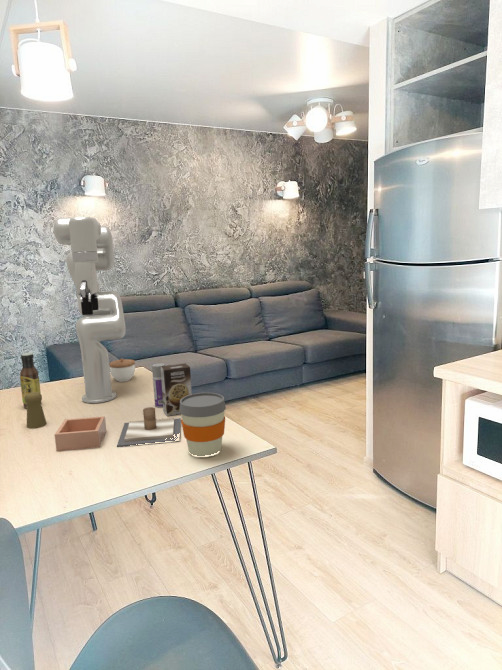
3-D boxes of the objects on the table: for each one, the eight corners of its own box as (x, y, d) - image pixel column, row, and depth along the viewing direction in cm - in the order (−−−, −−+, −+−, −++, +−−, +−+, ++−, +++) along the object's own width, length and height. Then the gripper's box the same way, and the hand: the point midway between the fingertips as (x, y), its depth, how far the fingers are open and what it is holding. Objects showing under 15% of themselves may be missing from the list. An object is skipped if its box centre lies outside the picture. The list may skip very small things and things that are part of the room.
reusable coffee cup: (228, 440, 142) (225, 391, 139) (227, 460, 130) (224, 406, 127) (185, 442, 142) (181, 393, 139) (179, 462, 129) (176, 408, 126)
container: (170, 403, 176) (167, 363, 173) (164, 408, 172) (161, 366, 169) (159, 402, 178) (156, 362, 175) (152, 407, 173) (149, 366, 170)
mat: (124, 424, 158) (124, 422, 158) (180, 419, 160) (180, 418, 160) (117, 447, 140) (116, 445, 140) (180, 441, 143) (180, 440, 142)
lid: (130, 424, 156) (128, 403, 155) (174, 420, 158) (172, 400, 156) (124, 442, 143) (122, 419, 141) (173, 437, 144) (171, 415, 143)
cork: (39, 428, 157) (35, 396, 155) (22, 428, 158) (18, 395, 156) (50, 422, 163) (46, 390, 160) (34, 421, 164) (30, 389, 162)
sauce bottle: (19, 408, 178) (12, 354, 174) (34, 402, 183) (27, 351, 179) (31, 410, 175) (24, 356, 171) (46, 405, 180) (39, 352, 176)
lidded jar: (140, 376, 213) (138, 355, 212) (129, 383, 203) (127, 361, 201) (118, 375, 216) (116, 355, 214) (105, 382, 206) (103, 361, 204)
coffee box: (166, 416, 163) (163, 370, 160) (163, 410, 169) (159, 365, 166) (193, 412, 166) (190, 366, 163) (188, 406, 172) (185, 362, 169)
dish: (66, 434, 151) (64, 419, 150) (106, 431, 152) (104, 416, 151) (56, 451, 139) (54, 434, 138) (99, 447, 141) (98, 430, 140)
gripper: (78, 257, 159) (84, 309, 163) (65, 259, 143) (72, 317, 146) (102, 256, 160) (107, 308, 164) (92, 258, 143) (98, 315, 147)
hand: (90, 312), depth 155 cm, fingers open, 9 cm apart
